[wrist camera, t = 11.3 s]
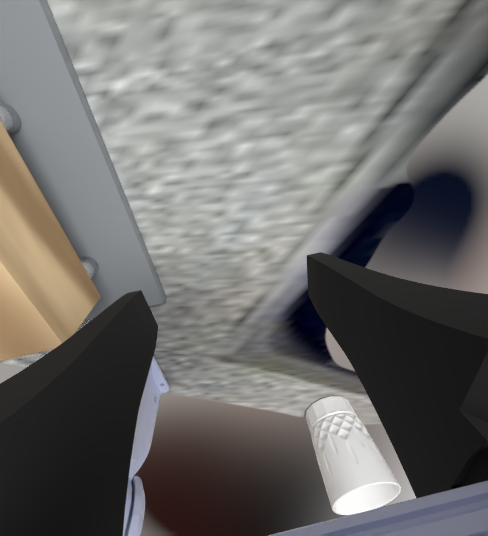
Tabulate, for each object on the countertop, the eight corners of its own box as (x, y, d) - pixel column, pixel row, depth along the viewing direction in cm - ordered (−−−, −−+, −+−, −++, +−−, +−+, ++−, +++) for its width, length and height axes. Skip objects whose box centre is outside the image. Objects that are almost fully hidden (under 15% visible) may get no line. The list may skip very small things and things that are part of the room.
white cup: (352, 386, 33) (404, 475, 24) (352, 417, 36) (397, 503, 28) (298, 401, 33) (330, 495, 24) (303, 430, 36) (333, 521, 28)
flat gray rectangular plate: (166, 296, 22) (160, 317, 19) (48, 321, 22) (26, 346, 19) (44, -6, 12) (-1, -47, 10) (-172, 29, 12) (-279, -4, 9)
